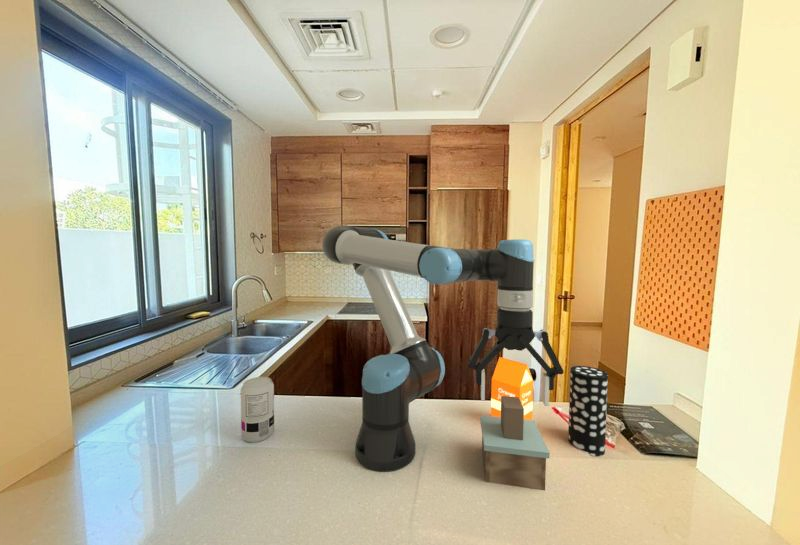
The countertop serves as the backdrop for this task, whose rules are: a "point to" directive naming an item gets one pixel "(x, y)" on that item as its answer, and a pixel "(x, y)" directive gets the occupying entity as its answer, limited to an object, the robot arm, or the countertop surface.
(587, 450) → the white-spotted black cylinder
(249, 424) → the supplement can
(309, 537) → the countertop surface
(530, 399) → the orange juice
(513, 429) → the lid
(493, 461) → the storage box
